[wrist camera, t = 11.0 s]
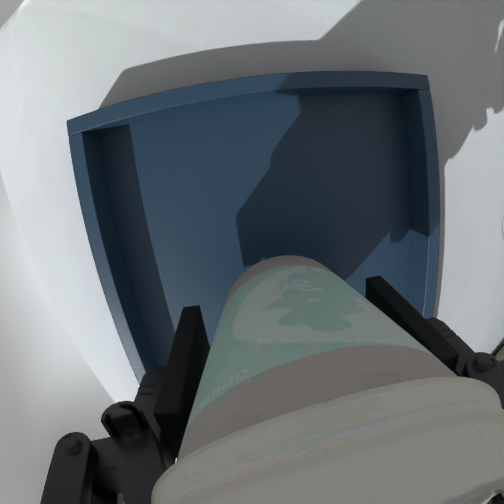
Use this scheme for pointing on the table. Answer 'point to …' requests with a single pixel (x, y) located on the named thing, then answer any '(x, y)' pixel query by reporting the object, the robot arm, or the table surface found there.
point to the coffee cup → (329, 405)
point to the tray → (256, 192)
